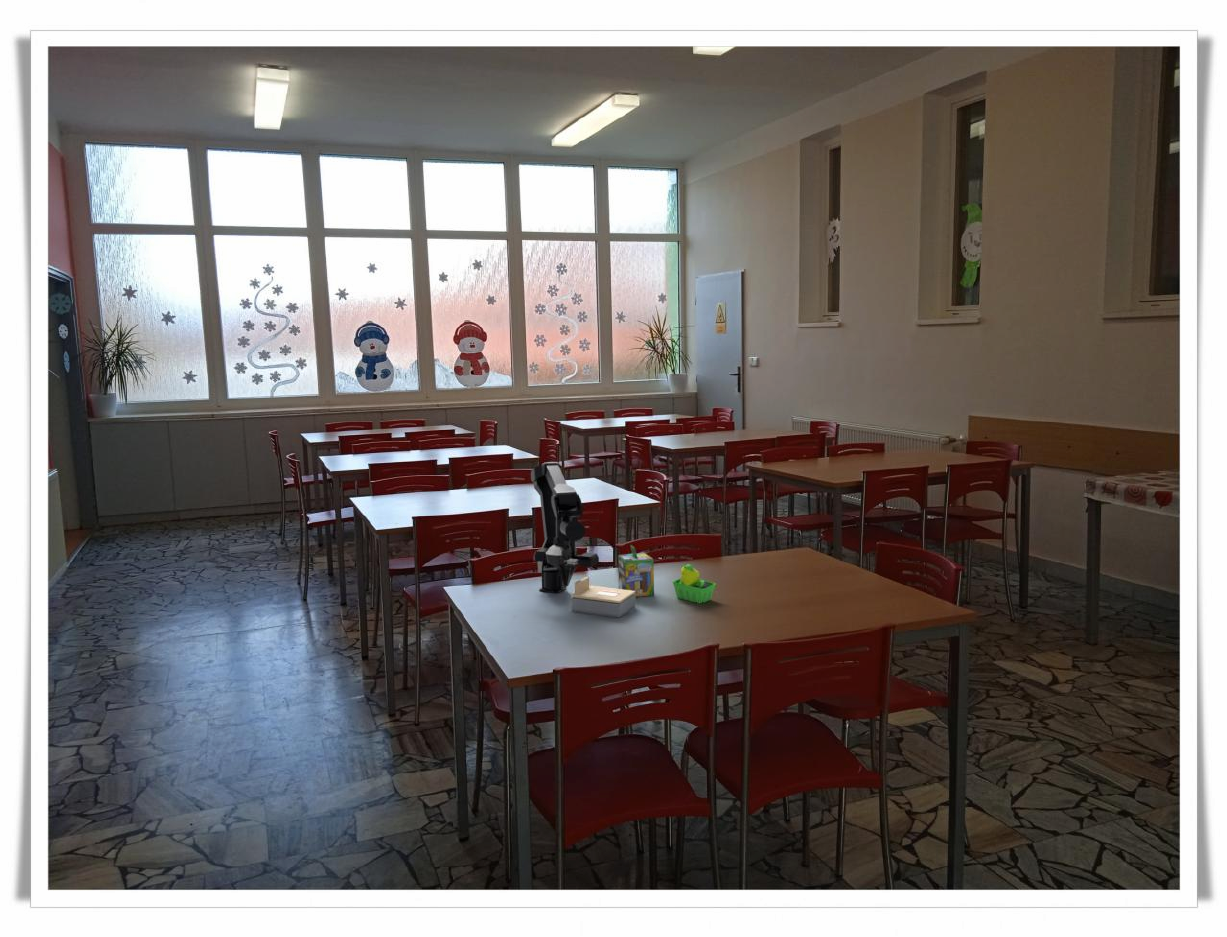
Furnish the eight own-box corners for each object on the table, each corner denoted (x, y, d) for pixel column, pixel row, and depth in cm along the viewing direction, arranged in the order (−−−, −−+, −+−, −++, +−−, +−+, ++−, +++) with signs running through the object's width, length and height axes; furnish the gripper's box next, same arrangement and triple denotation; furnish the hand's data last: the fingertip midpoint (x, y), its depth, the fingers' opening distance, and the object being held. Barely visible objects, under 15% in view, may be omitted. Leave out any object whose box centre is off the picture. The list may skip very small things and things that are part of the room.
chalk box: (654, 596, 257) (654, 548, 254) (625, 598, 254) (625, 550, 252) (646, 588, 265) (646, 541, 263) (617, 590, 263) (617, 543, 261)
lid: (571, 597, 241) (571, 584, 241) (588, 587, 251) (588, 575, 250) (619, 603, 235) (619, 590, 234) (635, 593, 245) (635, 580, 244)
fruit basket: (716, 600, 253) (717, 563, 251) (698, 606, 246) (699, 568, 245) (686, 592, 260) (687, 556, 259) (668, 598, 254) (668, 562, 253)
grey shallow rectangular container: (571, 611, 242) (571, 598, 241) (588, 601, 252) (588, 588, 251) (619, 618, 236) (619, 604, 235) (635, 607, 245) (635, 594, 245)
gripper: (523, 536, 242) (524, 589, 244) (582, 542, 234) (582, 597, 237) (542, 528, 252) (543, 580, 254) (599, 534, 245) (599, 587, 247)
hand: (566, 586), depth 248 cm, fingers closed
